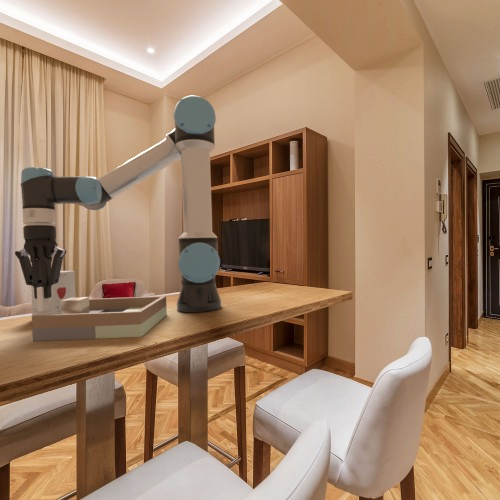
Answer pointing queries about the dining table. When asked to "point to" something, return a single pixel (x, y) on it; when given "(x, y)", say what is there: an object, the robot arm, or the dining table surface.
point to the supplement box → (57, 294)
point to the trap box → (103, 320)
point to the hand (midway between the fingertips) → (43, 310)
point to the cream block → (75, 305)
